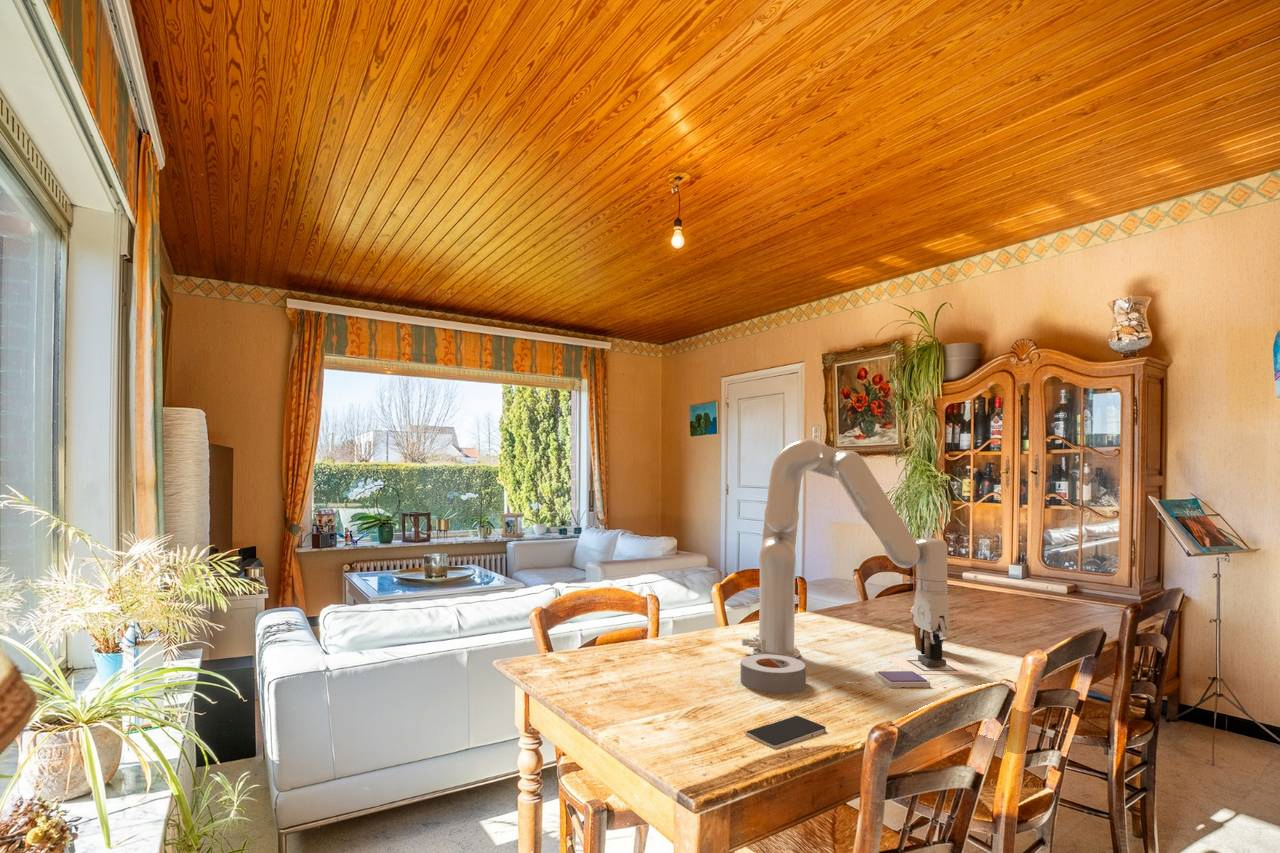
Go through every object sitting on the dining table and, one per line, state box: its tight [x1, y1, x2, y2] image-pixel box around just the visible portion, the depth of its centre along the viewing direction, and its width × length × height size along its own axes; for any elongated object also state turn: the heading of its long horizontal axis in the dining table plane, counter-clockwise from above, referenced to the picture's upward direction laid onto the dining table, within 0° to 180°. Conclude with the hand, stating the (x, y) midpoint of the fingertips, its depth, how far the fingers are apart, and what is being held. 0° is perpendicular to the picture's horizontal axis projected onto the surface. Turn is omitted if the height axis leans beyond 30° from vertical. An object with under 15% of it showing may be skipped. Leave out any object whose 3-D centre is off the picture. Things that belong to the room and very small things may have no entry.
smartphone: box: [745, 715, 827, 750], centre depth 134 cm, size 8×1×15 cm
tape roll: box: [740, 654, 807, 695], centre depth 164 cm, size 15×15×5 cm
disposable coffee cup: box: [909, 605, 939, 652], centre depth 196 cm, size 10×10×12 cm
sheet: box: [886, 657, 980, 676], centre depth 180 cm, size 18×14×1 cm
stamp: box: [917, 630, 946, 666], centre depth 180 cm, size 5×5×9 cm
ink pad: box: [874, 670, 931, 689], centre depth 167 cm, size 10×8×2 cm
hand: (931, 655), depth 180 cm, fingers closed on stamp, 3 cm apart
